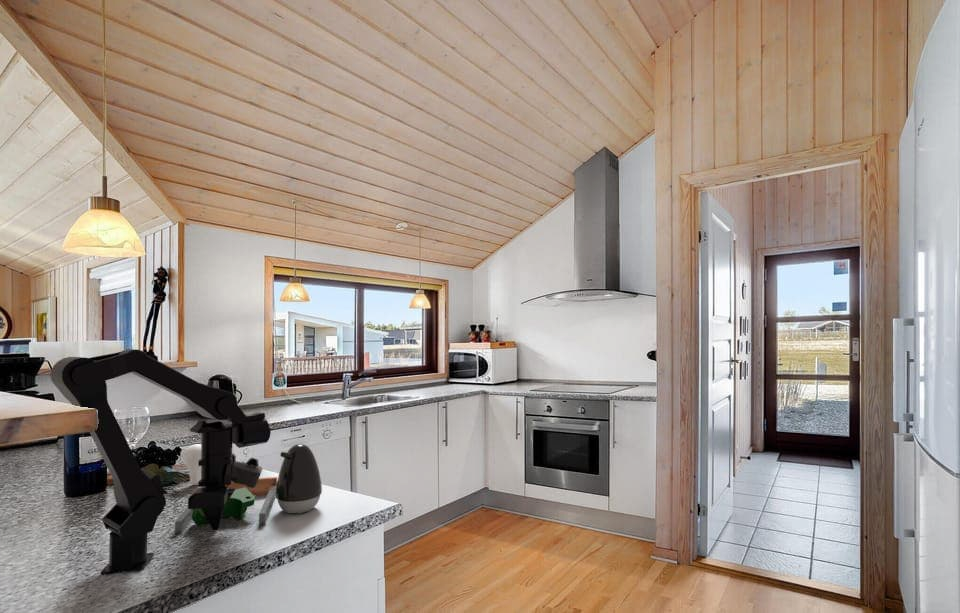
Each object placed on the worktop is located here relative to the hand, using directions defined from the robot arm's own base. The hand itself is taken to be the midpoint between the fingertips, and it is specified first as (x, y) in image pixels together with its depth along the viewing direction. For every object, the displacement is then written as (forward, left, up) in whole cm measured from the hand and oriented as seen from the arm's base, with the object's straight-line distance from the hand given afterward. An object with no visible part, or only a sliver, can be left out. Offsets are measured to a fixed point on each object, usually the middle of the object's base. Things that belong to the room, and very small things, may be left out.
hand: (216, 529), depth 108 cm
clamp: (+9, 0, -2) cm, 9 cm away
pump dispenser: (+12, -15, -2) cm, 20 cm away
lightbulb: (+42, +14, -2) cm, 44 cm away
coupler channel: (+16, 0, -2) cm, 17 cm away
